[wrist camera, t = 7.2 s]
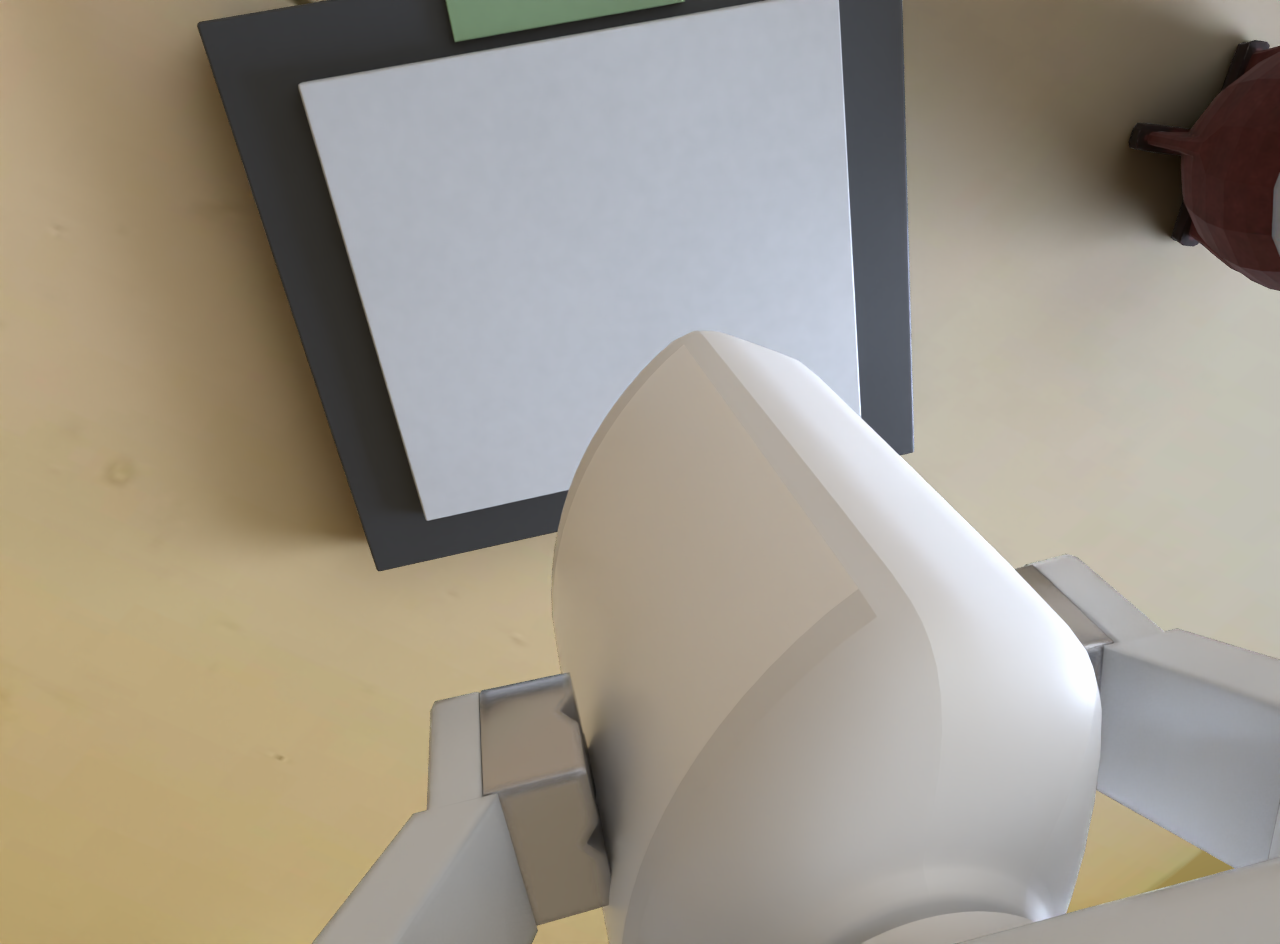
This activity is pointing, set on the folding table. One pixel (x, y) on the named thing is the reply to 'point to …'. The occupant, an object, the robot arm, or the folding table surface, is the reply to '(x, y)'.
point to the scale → (564, 224)
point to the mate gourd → (1231, 167)
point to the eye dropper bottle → (808, 675)
